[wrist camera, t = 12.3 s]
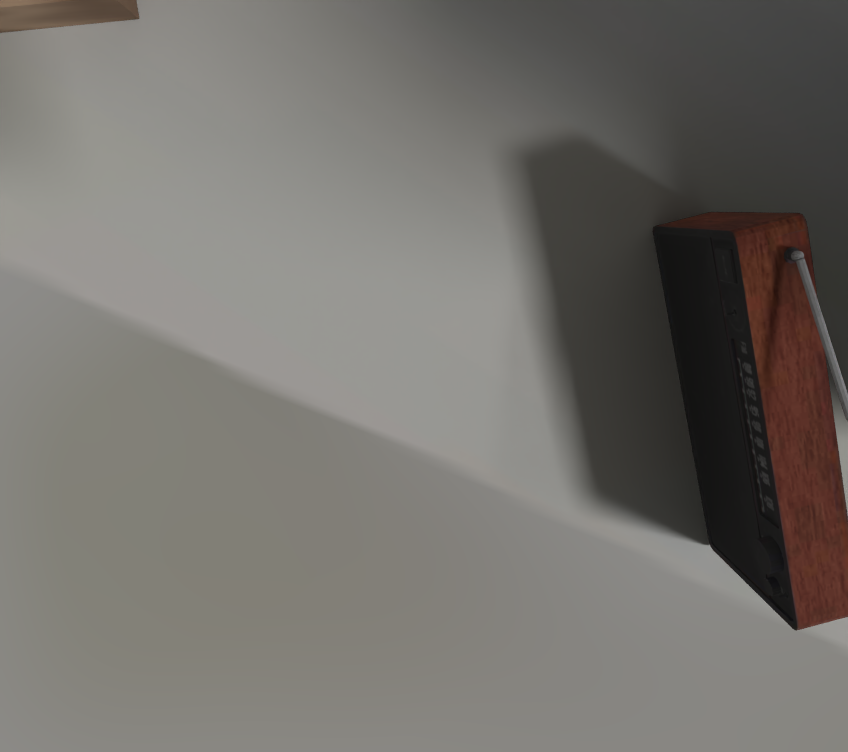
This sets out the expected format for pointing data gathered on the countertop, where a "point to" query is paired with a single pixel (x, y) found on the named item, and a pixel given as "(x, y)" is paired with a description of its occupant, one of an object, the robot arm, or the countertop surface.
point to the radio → (760, 404)
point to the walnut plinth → (62, 13)
